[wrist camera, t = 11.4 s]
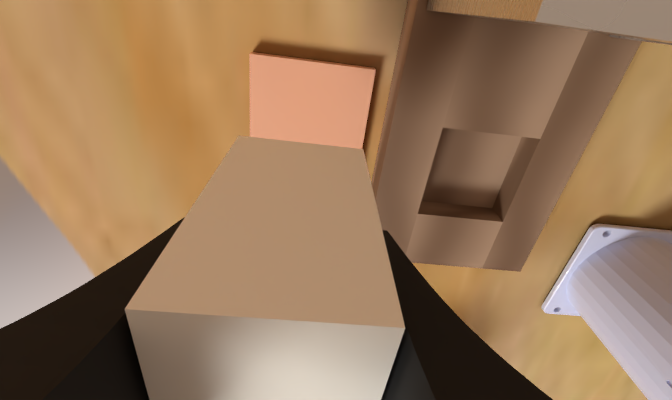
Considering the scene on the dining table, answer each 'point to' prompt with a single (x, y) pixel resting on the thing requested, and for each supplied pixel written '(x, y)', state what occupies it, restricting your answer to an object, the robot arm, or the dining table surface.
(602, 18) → the sliding cover
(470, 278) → the dining table surface
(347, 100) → the terracotta tile
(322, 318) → the cream block
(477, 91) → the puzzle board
